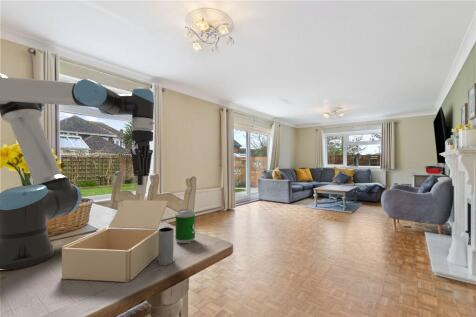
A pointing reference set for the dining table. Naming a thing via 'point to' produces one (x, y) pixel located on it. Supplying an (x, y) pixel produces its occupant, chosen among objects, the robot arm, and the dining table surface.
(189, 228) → the soda can
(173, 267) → the dining table surface
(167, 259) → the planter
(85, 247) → the carton
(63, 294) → the dining table surface
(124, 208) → the flap
